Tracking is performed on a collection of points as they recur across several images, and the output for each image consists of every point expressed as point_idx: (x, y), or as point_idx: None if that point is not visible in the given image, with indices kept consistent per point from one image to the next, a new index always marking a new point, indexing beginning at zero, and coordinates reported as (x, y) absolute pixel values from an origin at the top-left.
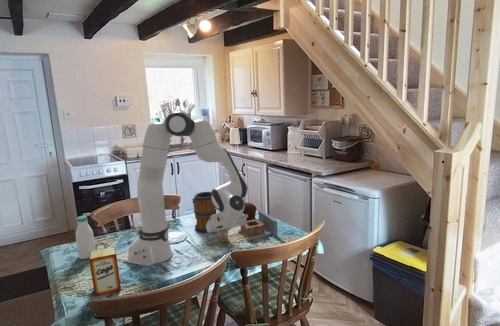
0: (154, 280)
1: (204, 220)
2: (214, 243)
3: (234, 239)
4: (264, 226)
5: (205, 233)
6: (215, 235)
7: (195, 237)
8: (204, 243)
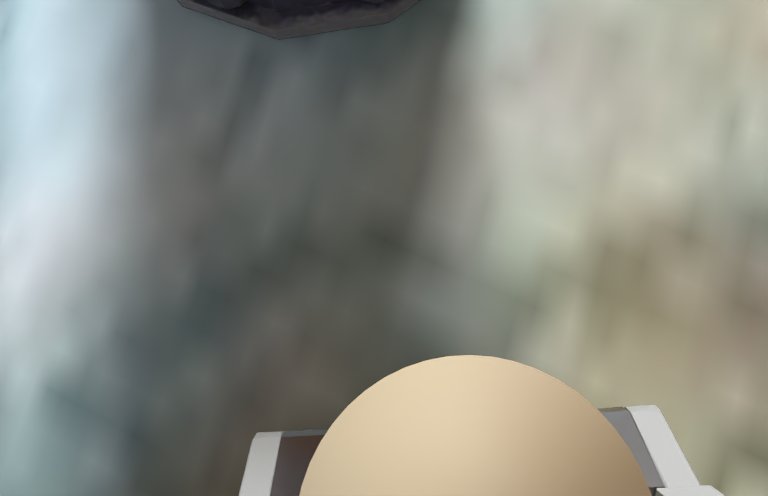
0: None
1: None
2: None
3: None
4: None
5: (230, 22)
6: (356, 151)
7: (51, 99)
8: (99, 381)
